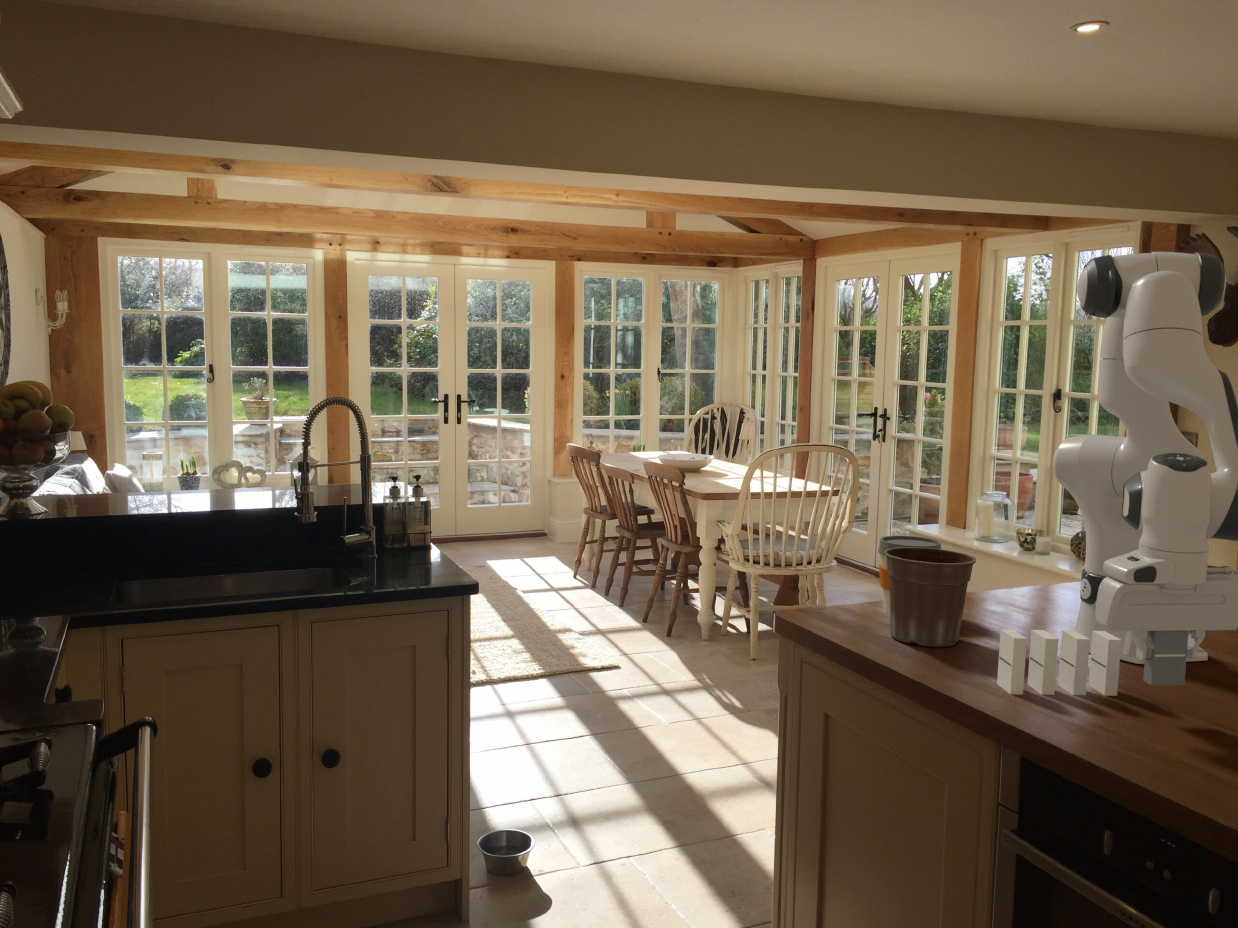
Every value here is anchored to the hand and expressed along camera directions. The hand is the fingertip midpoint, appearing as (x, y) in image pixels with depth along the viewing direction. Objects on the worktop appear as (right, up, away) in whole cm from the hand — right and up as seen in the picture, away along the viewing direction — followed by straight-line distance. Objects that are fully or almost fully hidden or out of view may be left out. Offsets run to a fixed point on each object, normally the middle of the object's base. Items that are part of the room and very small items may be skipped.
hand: (1165, 658), depth 143 cm
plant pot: (-23, -4, +40) cm, 46 cm away
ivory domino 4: (-3, -8, +12) cm, 15 cm away
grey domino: (0, -4, 0) cm, 4 cm away
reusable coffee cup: (-20, -2, +60) cm, 63 cm away
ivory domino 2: (-13, -7, +12) cm, 19 cm away
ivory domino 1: (-18, -7, +12) cm, 23 cm away
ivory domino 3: (-8, -7, +12) cm, 16 cm away
